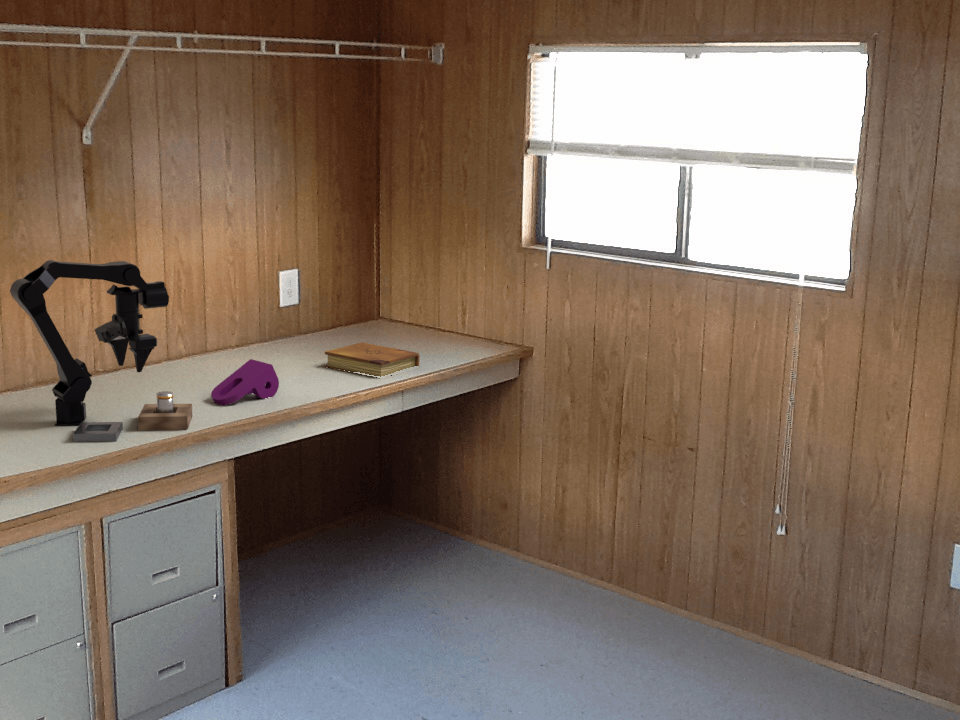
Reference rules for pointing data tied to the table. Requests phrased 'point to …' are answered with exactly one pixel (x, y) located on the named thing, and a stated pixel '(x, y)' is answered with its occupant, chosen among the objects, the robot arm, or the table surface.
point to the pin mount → (97, 431)
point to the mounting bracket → (247, 383)
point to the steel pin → (165, 402)
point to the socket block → (165, 418)
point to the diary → (371, 359)
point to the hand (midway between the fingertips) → (130, 368)
